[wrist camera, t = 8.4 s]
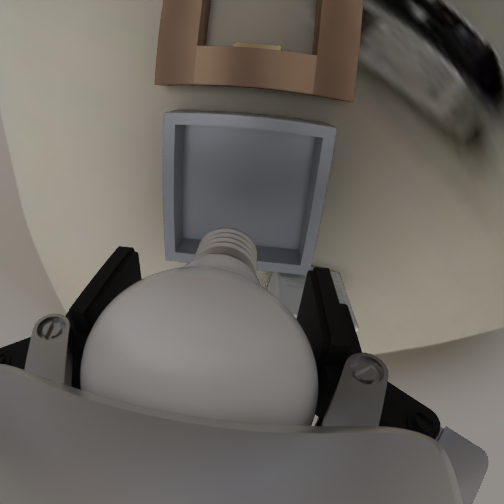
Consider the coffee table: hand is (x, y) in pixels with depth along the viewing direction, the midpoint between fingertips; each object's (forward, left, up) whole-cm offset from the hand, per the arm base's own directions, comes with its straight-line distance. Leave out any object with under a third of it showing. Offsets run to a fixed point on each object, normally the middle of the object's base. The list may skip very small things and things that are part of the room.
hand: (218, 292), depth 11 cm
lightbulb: (0, 0, -4) cm, 4 cm away
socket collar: (0, -14, -13) cm, 19 cm away
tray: (0, 0, -13) cm, 13 cm away
